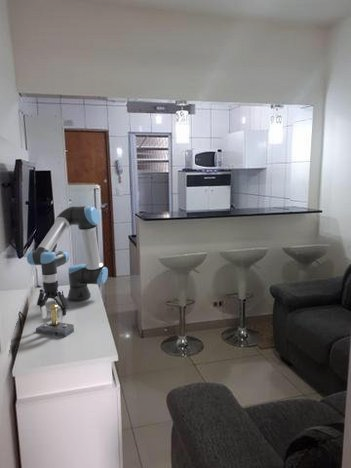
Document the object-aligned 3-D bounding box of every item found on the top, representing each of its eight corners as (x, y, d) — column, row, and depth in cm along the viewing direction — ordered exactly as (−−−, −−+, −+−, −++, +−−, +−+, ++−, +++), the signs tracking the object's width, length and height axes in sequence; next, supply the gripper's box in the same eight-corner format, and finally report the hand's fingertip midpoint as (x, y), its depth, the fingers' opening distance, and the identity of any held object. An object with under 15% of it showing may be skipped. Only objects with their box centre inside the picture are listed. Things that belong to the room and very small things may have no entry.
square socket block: (45, 326, 200) (44, 318, 200) (74, 331, 193) (73, 323, 192) (36, 331, 194) (35, 323, 193) (65, 337, 186) (64, 328, 185)
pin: (54, 329, 196) (53, 303, 193) (60, 330, 194) (59, 304, 191) (49, 332, 192) (48, 306, 189) (55, 333, 191) (53, 307, 188)
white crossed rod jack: (61, 320, 208) (59, 304, 206) (45, 319, 210) (44, 303, 208) (69, 314, 218) (68, 298, 216) (54, 313, 220) (53, 297, 218)
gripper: (27, 281, 190) (31, 319, 194) (64, 285, 180) (67, 325, 184) (37, 277, 197) (41, 313, 200) (73, 281, 187) (76, 319, 191)
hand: (53, 319), depth 192 cm, fingers open, 12 cm apart
